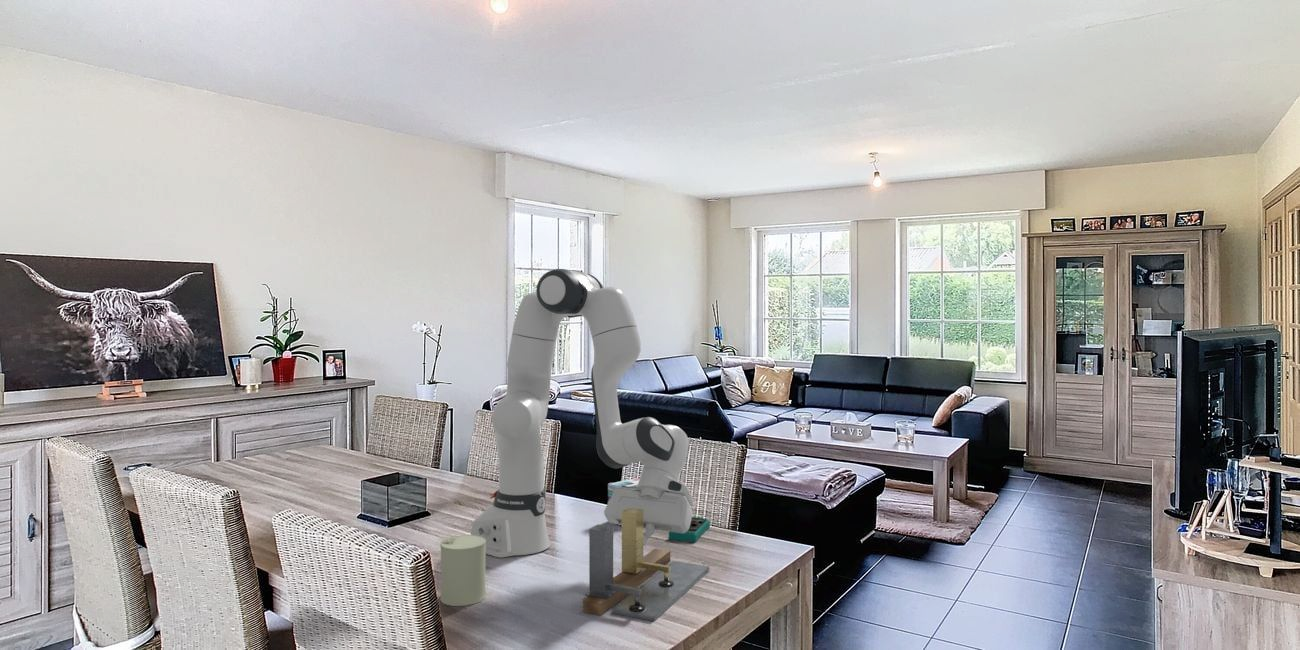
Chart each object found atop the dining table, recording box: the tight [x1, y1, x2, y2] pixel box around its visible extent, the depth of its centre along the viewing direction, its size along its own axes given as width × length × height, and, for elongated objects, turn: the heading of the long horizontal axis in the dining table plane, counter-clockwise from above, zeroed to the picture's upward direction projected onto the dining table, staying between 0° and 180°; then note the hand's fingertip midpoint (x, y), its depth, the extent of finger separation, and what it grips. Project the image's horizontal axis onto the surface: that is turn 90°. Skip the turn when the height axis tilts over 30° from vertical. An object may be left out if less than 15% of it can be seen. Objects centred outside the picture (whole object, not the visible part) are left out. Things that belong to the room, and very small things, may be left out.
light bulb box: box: [607, 478, 640, 527], centre depth 207 cm, size 11×7×11 cm, turn 131°
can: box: [439, 534, 487, 607], centre depth 151 cm, size 9×9×12 cm
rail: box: [582, 548, 671, 616], centre depth 158 cm, size 4×34×2 cm, turn 155°
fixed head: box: [585, 523, 642, 606], centre depth 145 cm, size 11×4×14 cm, turn 65°
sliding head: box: [621, 508, 671, 582], centre depth 158 cm, size 10×4×14 cm, turn 65°
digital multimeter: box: [668, 516, 711, 543], centre depth 195 cm, size 7×15×3 cm, turn 160°
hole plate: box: [611, 560, 710, 622], centre depth 155 cm, size 9×30×1 cm, turn 155°
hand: (637, 543), depth 161 cm, fingers closed, pressing on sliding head
